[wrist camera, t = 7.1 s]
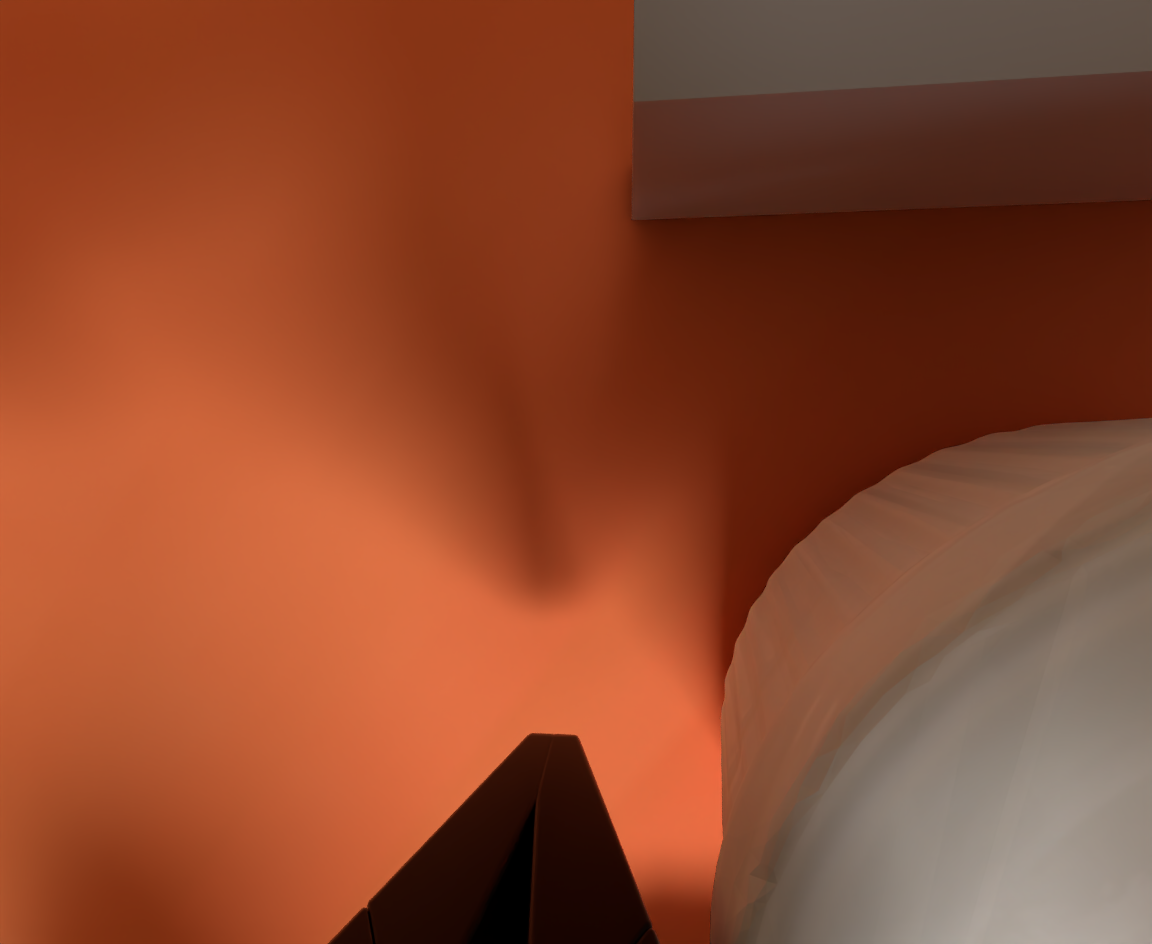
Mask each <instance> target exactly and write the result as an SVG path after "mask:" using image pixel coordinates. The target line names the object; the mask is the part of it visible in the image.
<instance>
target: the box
mask: <svg viewBox="0 0 1152 944" xmlns="http://www.w3.org/2000/svg"><path fill="white" fill-rule="evenodd" d="M1137 200H1152V0H634V51H633V125H632V220H650V219H676V218H701V217H727V216H753V215H778V214H804V213H830V212H855V211H881V210H906V209H932V208H958V207H983V206H1009V205H1034V204H1060V203H1086V202H1111V201H1137Z"/></svg>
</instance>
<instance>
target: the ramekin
mask: <svg viewBox="0 0 1152 944" xmlns="http://www.w3.org/2000/svg"><path fill="white" fill-rule="evenodd" d="M721 769H722V825H723V841H722V845H721V849H720V854H719V858H718V862H717V866H716V873H715V880H714V886H713V893H712V903H711V918H710V944H1152V418H1142V419H1126V420H1110V421H1094V422H1073V423H1057V424H1044V425H1037V426H1032V427H1028V428H1025V429H1021V430H1018V431H1013V432H999V433H992V434H989V435H986V436H983V437H980V438H977V439H975V440H973V441H971V442H968V443H966V444H962V445H958V446H954V447H949V448H944V449H941V450H938V451H936V452H934V453H932V454H930V455H928V456H927V457H925V458H923V459H922V460H920V461H918V462H915V463H913V464H910V465H907V466H904V467H901V468H899V469H897V470H895V471H894V472H892V473H891V474H889V475H888V476H887V477H885V478H884V479H883V480H881V481H880V482H878V483H877V484H876V485H873V486H871V487H869V488H867V489H865V490H863V491H861V492H859V493H857V494H855V495H854V496H853V497H852V498H851V499H850V500H849V501H848V502H847V503H846V504H845V505H843V506H842V507H841V508H840V509H838V510H837V511H835V512H834V513H832V514H831V515H830V516H828V517H827V518H825V519H824V520H822V521H821V522H820V524H819V525H818V526H817V527H816V528H815V529H814V530H813V531H812V532H811V533H810V534H809V535H808V536H807V537H806V538H805V539H803V540H802V541H801V542H799V543H798V544H796V545H795V546H794V548H793V549H792V550H791V551H790V553H789V554H788V556H787V557H786V559H785V560H784V561H783V562H782V564H781V565H780V566H779V567H778V568H777V569H776V570H775V571H774V572H773V574H772V575H771V576H770V578H769V579H768V582H767V585H766V587H765V589H764V591H763V593H762V594H761V595H760V597H759V598H758V599H757V600H756V601H755V602H754V604H753V605H752V607H751V608H750V611H749V614H748V617H747V621H746V624H745V626H744V628H743V630H742V632H741V633H740V635H739V637H738V638H737V640H736V643H735V648H734V655H733V659H732V662H731V665H730V667H729V669H728V672H727V675H726V678H725V699H724V702H723V705H722V710H721Z"/></svg>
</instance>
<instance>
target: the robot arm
mask: <svg viewBox="0 0 1152 944" xmlns="http://www.w3.org/2000/svg"><path fill="white" fill-rule="evenodd" d="M367 908H368V909H367ZM367 908H362V909H361V910H360V911H359V912H358V913H357V914H356V915H355V916H354V917H353V918H352V919H351V920H350V921H349V922H348V924H347V925H346V926H345V927H344V928H343V929H342V930H341V931H340V932H339V933H338V934H337V935H336V936H335V937H334V938H333V939H332V940H331V941H330V942H329V943H328V944H660V942H659V939H658V937H657V934H656V932H655V930H654V929H652V922H651V920H650V917H649V915H648V912H647V910H646V907H645V905H644V902H643V900H642V897H641V894H640V892H639V889H638V887H637V884H636V882H635V879H634V877H633V874H632V872H631V869H630V866H629V864H628V861H627V859H626V856H625V854H624V851H623V849H622V846H621V844H620V841H619V838H618V836H617V833H616V831H615V828H614V826H613V823H612V821H611V818H610V816H609V813H608V810H607V808H606V805H605V803H604V800H603V798H602V795H601V793H600V790H599V788H598V785H597V782H596V780H595V777H594V775H593V772H592V770H591V767H590V765H589V762H588V759H587V757H586V754H585V752H584V749H583V747H582V744H581V742H580V739H579V738H578V736H576V735H566V734H542V733H531V734H529V735H528V736H527V737H526V738H525V739H524V740H523V741H522V742H521V743H520V744H519V745H518V746H517V747H516V748H515V749H514V750H513V751H512V752H511V754H510V755H509V756H508V757H507V758H506V759H505V760H504V761H503V762H502V763H501V764H500V765H499V766H498V767H497V768H496V769H495V770H494V771H493V772H492V773H491V774H490V775H489V777H488V778H487V779H486V780H485V781H484V782H483V783H482V784H481V785H480V786H479V787H478V788H477V789H476V790H475V791H474V792H473V793H472V794H471V795H470V796H469V797H468V798H467V800H466V801H465V802H464V803H463V804H462V805H461V806H460V807H459V808H458V809H457V810H456V811H455V812H454V813H453V814H452V815H451V816H450V817H449V818H448V819H447V820H446V821H445V823H444V824H443V825H442V826H441V827H440V828H439V829H438V830H437V831H436V832H435V833H434V834H433V835H432V836H431V837H430V838H429V839H428V840H427V841H426V842H425V843H424V844H423V846H422V847H421V848H420V849H419V850H418V851H417V852H416V853H415V854H414V855H413V856H412V857H411V858H410V859H409V860H408V861H407V862H406V863H405V864H404V865H403V866H402V867H401V868H400V870H399V871H398V872H397V873H396V874H395V875H394V876H393V877H392V878H391V879H390V880H389V881H388V882H387V883H386V884H385V885H384V886H383V887H382V888H381V889H380V890H379V891H378V893H377V894H376V895H375V896H374V897H373V898H372V899H371V900H370V901H369V902H368V905H367Z"/></svg>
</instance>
